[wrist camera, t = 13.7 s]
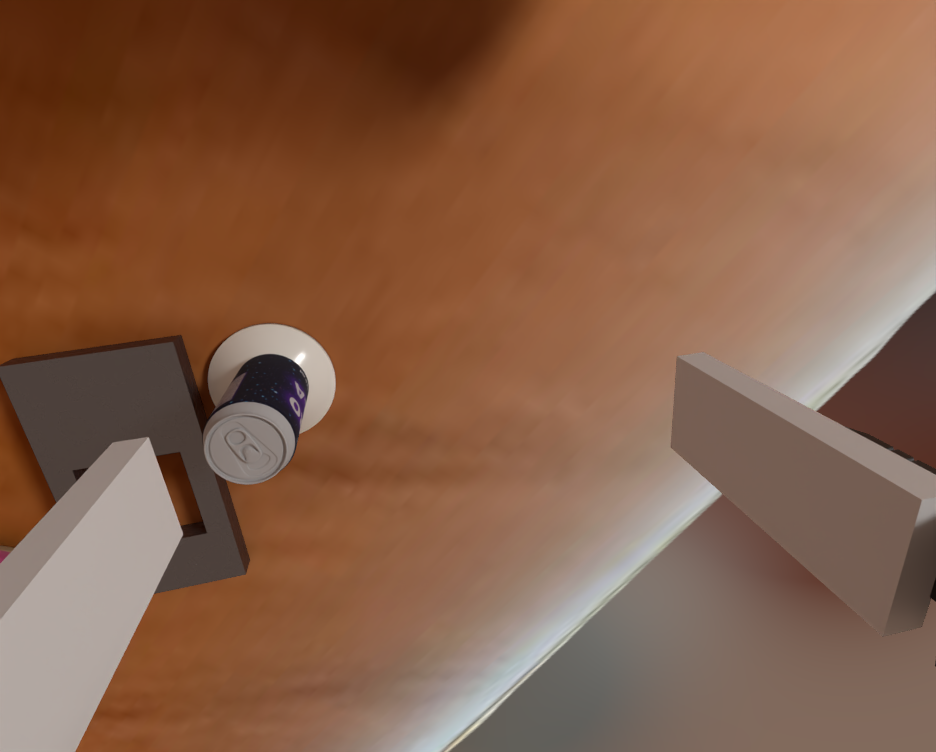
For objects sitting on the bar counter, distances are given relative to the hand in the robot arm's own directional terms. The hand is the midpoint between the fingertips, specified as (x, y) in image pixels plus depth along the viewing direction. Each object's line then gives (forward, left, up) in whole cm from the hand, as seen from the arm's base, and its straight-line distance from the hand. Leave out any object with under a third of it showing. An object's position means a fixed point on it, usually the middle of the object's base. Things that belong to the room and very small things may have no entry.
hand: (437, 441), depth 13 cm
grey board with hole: (+14, -22, -32) cm, 41 cm away
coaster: (+8, -10, -32) cm, 34 cm away
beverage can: (+8, -10, -32) cm, 34 cm away
